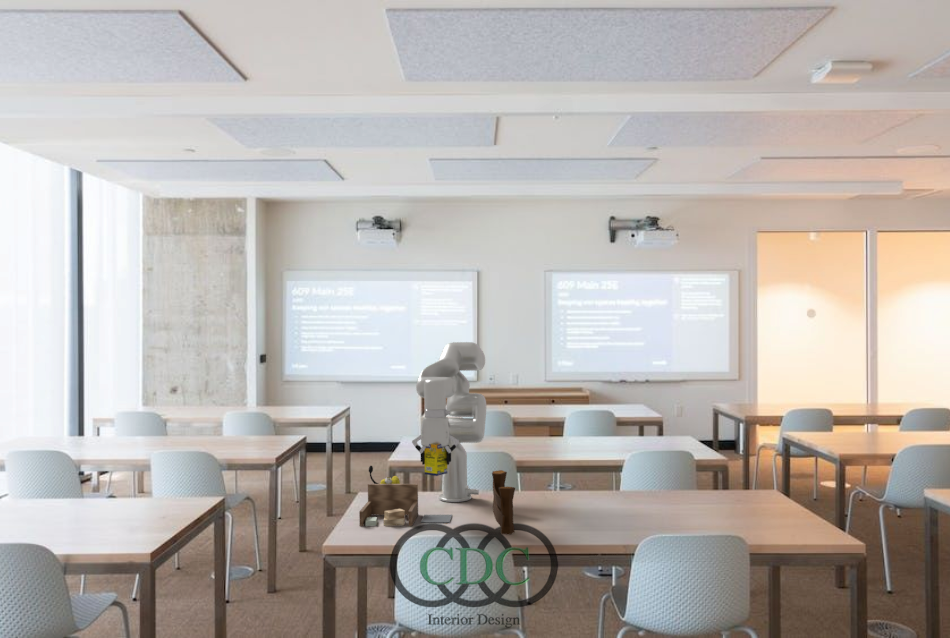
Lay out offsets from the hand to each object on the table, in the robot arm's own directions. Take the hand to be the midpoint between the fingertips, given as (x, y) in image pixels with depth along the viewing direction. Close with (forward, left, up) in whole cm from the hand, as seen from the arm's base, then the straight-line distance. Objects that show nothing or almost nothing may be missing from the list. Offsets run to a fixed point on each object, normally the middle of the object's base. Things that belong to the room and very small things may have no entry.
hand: (435, 463), depth 264 cm
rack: (+16, +1, -19) cm, 26 cm away
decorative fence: (-23, +4, -20) cm, 31 cm away
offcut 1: (+22, +6, -20) cm, 30 cm away
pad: (0, 0, -19) cm, 19 cm away
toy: (+22, -25, -20) cm, 39 cm away
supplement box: (0, 0, -4) cm, 4 cm away
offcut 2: (+14, +6, -17) cm, 23 cm away
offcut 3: (+14, +6, -20) cm, 25 cm away
